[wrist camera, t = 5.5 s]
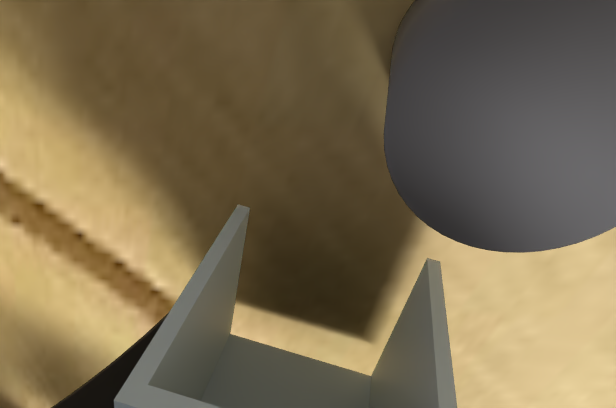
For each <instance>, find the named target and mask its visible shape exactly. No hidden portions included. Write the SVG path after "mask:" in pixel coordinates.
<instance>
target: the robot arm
mask: <svg viewBox="0 0 616 408" xmlns="http://www.w3.org/2000/svg"><path fill="white" fill-rule="evenodd" d="M168 314H169V313H168ZM168 314H167V315H168ZM167 315H166V316H165V317H163V318H162V319H161V320H160V321H159V322H158V323H157V324H156V325H155V326H154V327H153V328H152V329H151V330H149V331H148V332H147V333H146V334H145V335H144V336H143V337H142V338H141V339H139V340H138V341H137V342H136V343H135V344H134V345H132V346H131V347H130V348H129V349H128V350H127V351H125V352H124V353H123V354H122V355H121V356H120V357H118V358H117V359H116V360H115V361H113V362H112V363H111V364H110V365H108V366H107V367H106V368H104V369H103V370H102V371H101V372H99V373H98V374H97V375H95V376H94V377H93V378H92V379H90V380H89V381H88V382H86V383H85V384H84V385H82V386H81V387H80V388H78V389H77V390H76V391H74V392H73V393H72V394H70V395H69V396H67V397H66V398H64V399H63V400H62V401H60V402H59V403H57V404H56V405H54V406H53V407H51V408H114V399H115V397H116V396H117V394H118V393H119V391H120V390H121V388H122V386H123V385H124V383H125V382H126V380H127V379H128V377H129V375H130V374H131V372H132V371H133V369H134V367H135V366H136V364H137V363H138V361H139V360H140V358H141V356H142V355H143V353H144V352H145V350H146V349H147V347H148V345H149V344H150V342H151V341H152V339H153V337H154V336H155V334H156V333H157V331H158V330H159V328H160V326H161V325H162V323H163V322H164V320H165V319H166V317H167Z"/></svg>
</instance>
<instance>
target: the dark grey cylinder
mask: <svg viewBox="0 0 616 408" xmlns="http://www.w3.org/2000/svg"><path fill="white" fill-rule="evenodd" d="M384 151H385V156H386V162H387V166H388V170H389V173H390V176H391V179H392V181H393V183H394V185H395V187H396V189H397V191H398V193H399V195H400V196H401V197H402V199H403V200H404V202H405V203H406V205H407V206H408V207H409V208H410V209H411V210H412V211H413V212H414V213H415V215H416V216H417V217H418V218H420V219H421V220H422V221H423V222H425V223H426V224H427V225H428V226H429V227H431V228H433V229H434V230H436V231H437V232H439V233H441V234H442V235H444V236H446V237H448V238H451V239H453V240H455V241H457V242H460V243H463V244H466V245H469V246H472V247H476V248H481V249H485V250H491V251H499V252H535V251H544V250H550V249H556V248H561V247H564V246H568V245H572V244H576V243H579V242H582V241H584V240H587V239H590V238H593V237H595V236H598V235H600V234H602V233H604V232H606V231H608V230H610V229H612V228H614V227H616V0H415V1H414V2H413V4H412V5H411V7H410V8H409V10H408V11H407V13H406V14H405V16H404V18H403V20H402V22H401V24H400V26H399V28H398V31H397V34H396V36H395V40H394V44H393V49H392V57H391V67H390V77H389V87H388V97H387V107H386V117H385V127H384Z"/></svg>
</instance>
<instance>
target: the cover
mask: <svg viewBox="0 0 616 408" xmlns="http://www.w3.org/2000/svg"><path fill="white" fill-rule="evenodd" d="M249 211H250V208H249V207H246V206H242V205H239V204H238V205H237V207H236V208H235V210H234V211H233V213H232V214H231V216H230V218H229V219H228V221H227V222H226V224H225V225H224V227H223V229H222V230H221V232H220V233H219V235H218V236H217V238H216V240H215V241H214V243H213V244H212V246H211V248H210V249H209V251H208V252H207V254H206V255H205V257H204V259H203V260H202V262H201V263H200V265H199V266H198V268H197V270H196V271H195V273H194V274H193V276H192V278H191V279H190V281H189V282H188V284H187V285H186V287H185V289H184V290H183V292H182V293H181V295H180V296H179V298H178V300H177V301H176V303H175V304H174V306H173V308H172V309H171V311H170V312H169V314H168V315H167V317H166V319H165V320H164V322H163V323H162V325H161V326H160V328H159V330H158V331H157V333H156V334H155V336H154V337H153V339H152V341H151V342H150V344H149V345H148V347H147V349H146V350H145V352H144V353H143V355H142V356H141V358H140V360H139V361H138V363H137V364H136V366H135V367H134V369H133V371H132V372H131V374H130V375H129V377H128V379H127V380H126V382H125V383H124V385H123V386H122V388H121V390H120V391H119V393H118V394H117V396H116V397H115V399H114V408H457V402H456V394H455V385H454V377H453V368H452V359H451V351H450V342H449V334H448V325H447V317H446V308H445V300H444V291H443V283H442V274H441V266H440V262H439V261H436V260H432V259H429V258H427V260H426V262H425V264H424V266H423V268H422V270H421V272H420V275H419V277H418V279H417V281H416V283H415V285H414V287H413V289H412V291H411V294H410V296H409V298H408V300H407V302H406V304H405V306H404V308H403V310H402V312H401V315H400V317H399V319H398V321H397V323H396V325H395V327H394V329H393V331H392V334H391V336H390V338H389V340H388V342H387V344H386V346H385V348H384V350H383V352H382V355H381V357H380V359H379V361H378V363H377V365H376V367H375V369H374V371H373V374H372V376H369V375H365V374H362V373H359V372H355V371H352V370H349V369H345V368H342V367H339V366H335V365H332V364H329V363H325V362H322V361H319V360H315V359H312V358H309V357H305V356H302V355H299V354H295V353H292V352H289V351H285V350H282V349H279V348H275V347H272V346H269V345H265V344H262V343H259V342H255V341H252V340H249V339H245V338H242V337H239V336H235V335H232V334H230V332H231V325H232V319H233V313H234V306H235V300H236V294H237V287H238V281H239V275H240V268H241V262H242V256H243V249H244V243H245V237H246V230H247V224H248V217H249Z"/></svg>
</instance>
